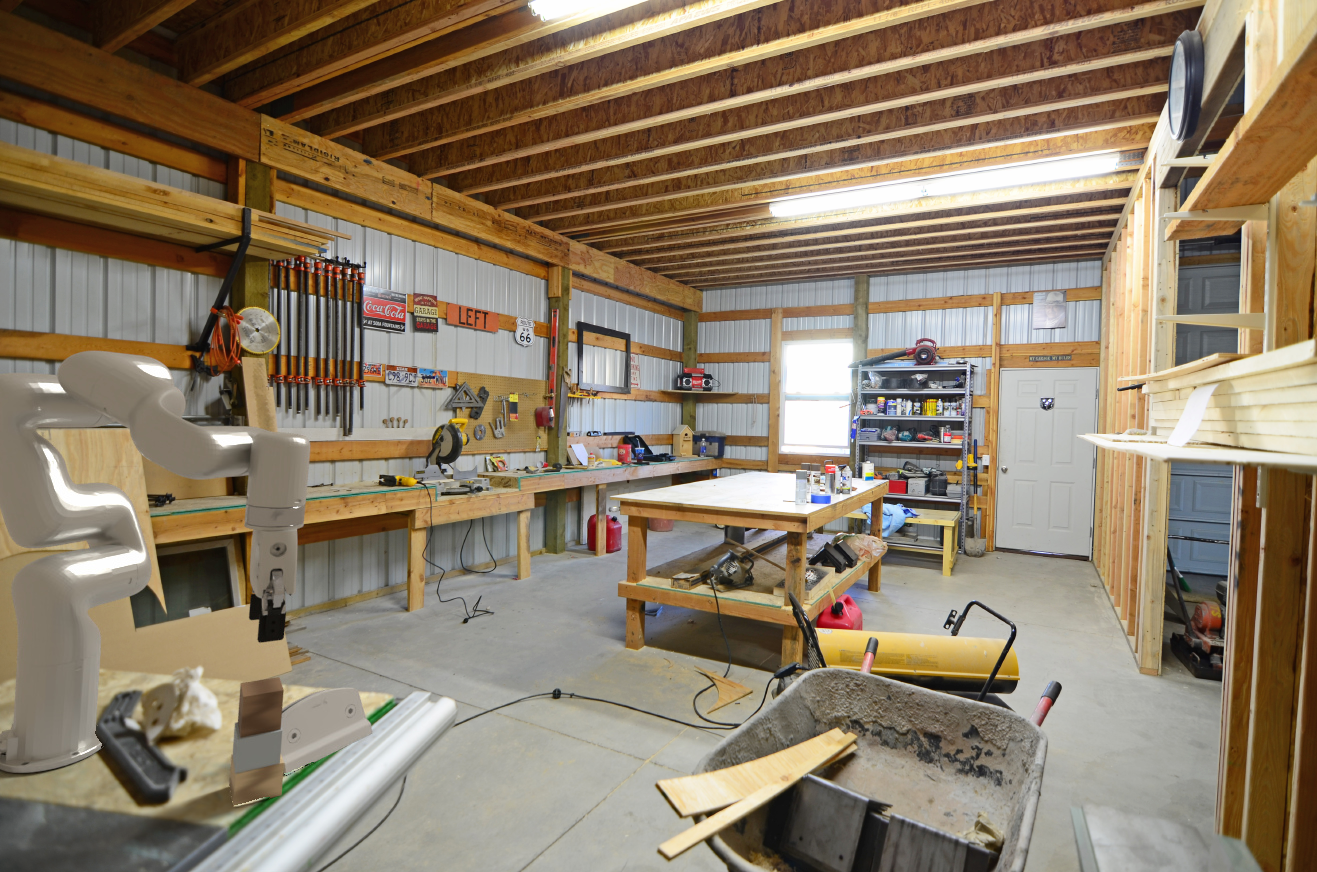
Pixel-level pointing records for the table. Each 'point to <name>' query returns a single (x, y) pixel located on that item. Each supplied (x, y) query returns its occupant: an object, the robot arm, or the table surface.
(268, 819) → the table surface
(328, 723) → the beige mounting bracket
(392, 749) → the table surface
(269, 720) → the walnut block
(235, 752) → the grey block
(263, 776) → the oak block
